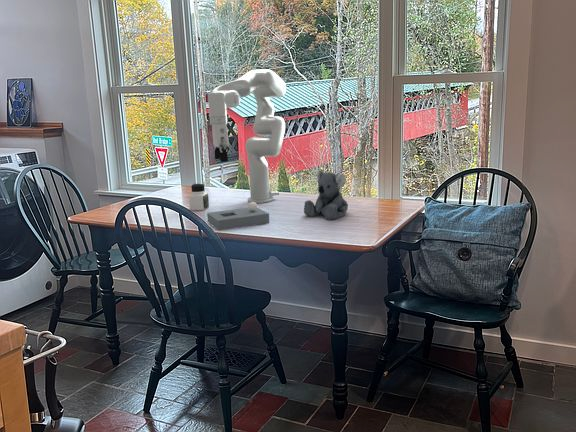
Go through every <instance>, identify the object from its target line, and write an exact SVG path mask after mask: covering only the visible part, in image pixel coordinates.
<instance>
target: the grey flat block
mask: <svg viewBox="0 0 576 432" xmlns="http://www.w3.org/2000/svg"><path fill="white" fill-rule="evenodd" d="M206 217H207V223H208V222H209V223H208V224H209V225H211V226H212V225H213V227H214V228H215V229H217V230H218V231H222V230H223V229H224V230H230V229H235V227H237V228H243V227H242V226H244V227H248V226H249V227H251V226H256V225H264V224H269V223H270V214H269V212H266V211H265V210H263V209H261V208H260V207H257V209H256V210H255V211H250V210H249V208H248V207H242V208H234V209H227V210H226V209H225V210H218V211H213V212H212V211H211V212H207V213H206ZM229 228H230V229H229Z"/></svg>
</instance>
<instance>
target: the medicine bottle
mask: <svg viewBox="0 0 576 432" xmlns="http://www.w3.org/2000/svg"><path fill="white" fill-rule="evenodd" d="M205 189H206V188H205V184H204V183H201V182H200V183H199V182H198V183H193V184H191V194H190V195H189V196H188V199H189V200H188V201H189V202H188V203H189V210H190V211H205V210H207V209H208V208H209V207H210V203H209V202H210V201H209V193H208V192H206V191H205Z"/></svg>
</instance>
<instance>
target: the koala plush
mask: <svg viewBox="0 0 576 432" xmlns="http://www.w3.org/2000/svg"><path fill="white" fill-rule="evenodd" d="M316 178H317V184H318V185H317V191H318V193H319V195H318V196H317V199H315V200H316V201H315V202H313V201H312V200H310V199H309V200H305V201H304V206H303V213H304V215H306V216H307V217H320V216H324V218H325V219H326V220H327V221H333V220H337V219H338V218H340V217H343V216H345V214H346V213H347V211H348V208H349V205H348V202H347V200H345V199H344V197H343V195H342V193H341V192H340V190H341V188H343V187H344V185H346V183H347V178H346V174H344V173H342V172H338V173H336V174H335V173H333V172H331V171H327V172H324V171H322V170H319V169H317V171H316Z"/></svg>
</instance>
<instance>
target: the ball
mask: <svg viewBox="0 0 576 432" xmlns="http://www.w3.org/2000/svg"><path fill="white" fill-rule="evenodd" d="M247 208H249V210H250V211H255V210H256V209H257V208H258V203H255V202H248V205H247Z"/></svg>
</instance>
